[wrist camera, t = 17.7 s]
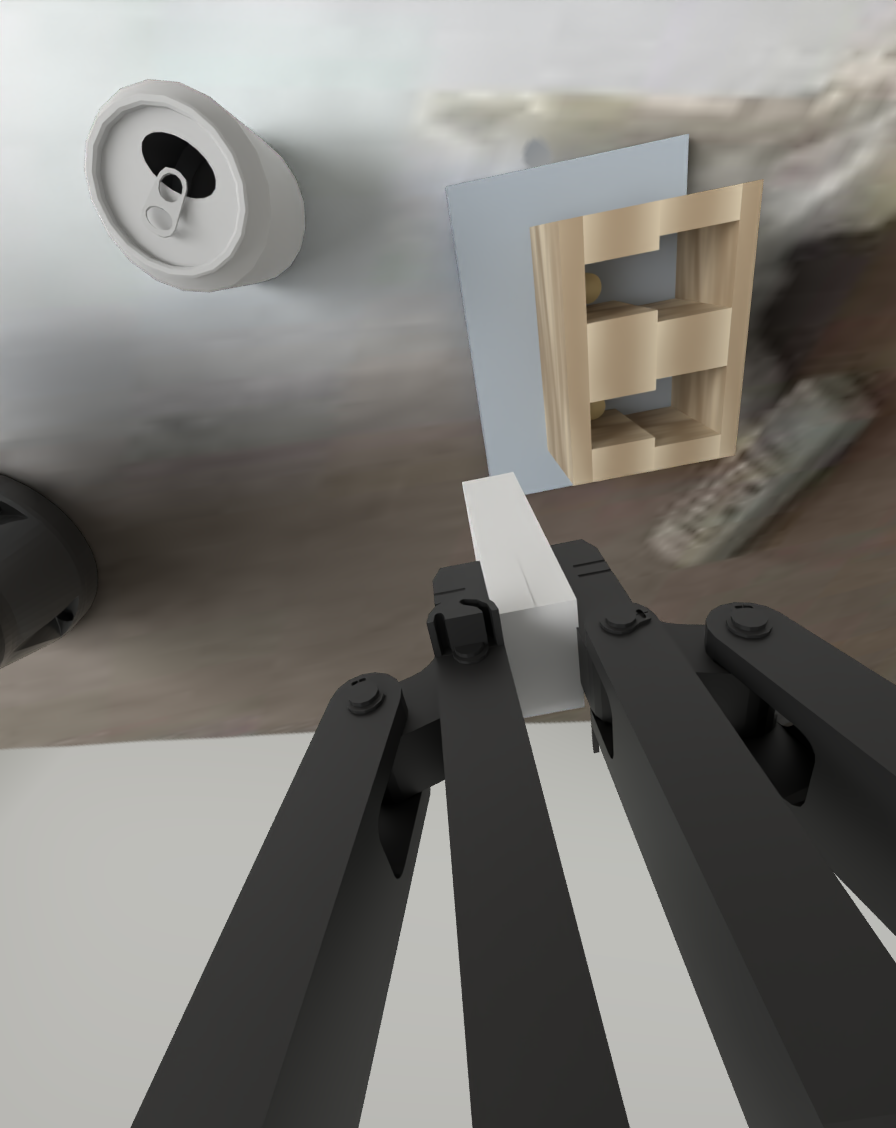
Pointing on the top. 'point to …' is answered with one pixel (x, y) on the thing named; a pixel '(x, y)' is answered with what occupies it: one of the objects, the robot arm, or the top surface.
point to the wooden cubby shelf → (647, 334)
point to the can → (191, 189)
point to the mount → (507, 295)
